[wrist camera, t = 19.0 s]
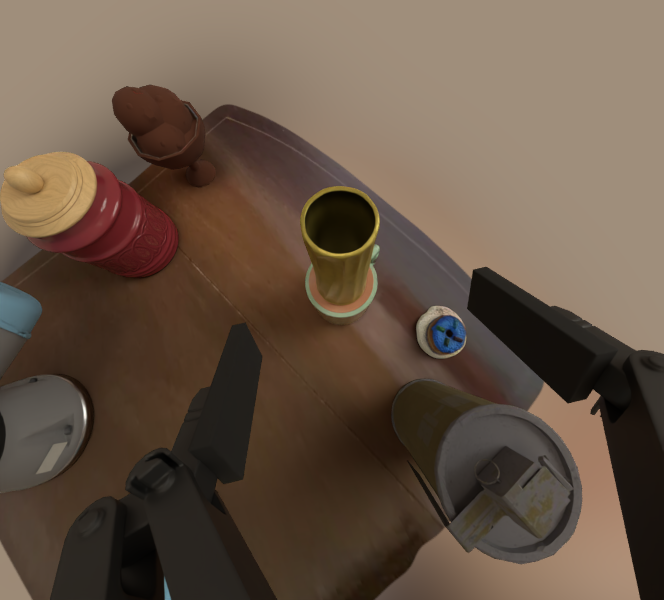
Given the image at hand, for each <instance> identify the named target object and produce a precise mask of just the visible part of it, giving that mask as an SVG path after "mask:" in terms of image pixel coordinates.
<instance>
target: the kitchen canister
mask: <svg viewBox="0 0 664 600" xmlns="http://www.w3.org/2000/svg"><path fill="white" fill-rule="evenodd" d="M4 178H5V180H4V182H3V185H2V188H1V192H0V201H1V208H2V214H3V217H4V220H5V221H6V223H7V224H8V226H9V227H10V228H11V229H13V230H14V231H15V232H17V233H19V234H21V235H24V236H26V237H27V239H28V240H29V241H30V242H31V243H33V244H34V245H35V246H37V247H38V248H40V249H42V250H45V251H49V252H55V253H62V254H64V255H65V256H67V257H68V258H70V259H73V260H76V261H80V262H85V263H88V264H91V265H94V266H97V267H100V268H103V269H106V270H108V271H109V272H111V273H114V274H117V275H120V276H124V277H133V278H142V277H147V276H150V275H153V274H155V273H157V272H158V271H160V270H161V269H163V268H164V267H165V266H166V265H167V264H168V263H169V262H170V261H171V259H172V258H173V256H174V254H175V252H176V249H177V246H178V231H177V228H176V226H175V224H174V223H173V221H172V220H171V219H170V218H169V216H168V215H167V214H166V213H165V212H163V211H162V210H161V209H159V208H158V207H156V206H154V205H152V204H151V203H150V202H148V201H147V200H146V199H145V198H143V197H142V196H141V195H139V194H138V193H137V192H136V191H135V190H134V189H133V188H132V187H131V186H129V185H128V184H126V183H125V182H123V181H120V180H117V178H116V177H115V175H114V174H113V173H112V172H111V171H110V170H109V169H108V168H106V167H105V166H103V165H101V164H98V163H95V162H91V161H86V160H85V159H83V158H82V157H80V156H78V155H75V154H72V153H68V152H53V153H49V154H45V155H39V156H34V157H31V158H29V159H27V160H25V161H23V162H21V163H20V164H19V165H17V166H11V167H9V168H7V169H6V170H5V172H4Z"/></svg>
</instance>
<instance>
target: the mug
mask: <svg viewBox="0 0 664 600" xmlns="http://www.w3.org/2000/svg"><path fill="white" fill-rule="evenodd" d="M379 251H380V247H379V246H378V245H374V249H373V253H372V257H371V262H370V266H369V270H368V274H367V279H366V287H365V290H364V292H363V294H362V295H361V297H360V298H359V299H358V300H356V301H355V302H353V303H351V304H348V305H335V304H332V303H329V302H327V301H326V300H325V299H323V297H322V296H321V295H320V293H319V292H318V290H317V285H316V276H315V272H314V268H313V265H312V263H311V265H310V267H309V269H308V271H307V274H306V279H305V287H306V292H307V295H308V297H309V299H310V301H311V303H312V304H313V306H314V307H315V309H316V310H317V312H318V313H319V314H320V316H321V317H322V318H324V319H325V320H326V321H328V322H330V323H333V324H337V325H346V324H350V323H353V322H355V321H357V320H358V319H360V318H361V317H362V316H363V314H364V313H365V312H366V310H367V308H368V307H369V305H370V303H371V302H372V300H373V298H374V296H375V294H376V290H377V275H376V272H375V269H374V267H373V265H374V264H375V262H376V259H377V256H378V254H379Z"/></svg>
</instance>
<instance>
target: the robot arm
mask: <svg viewBox="0 0 664 600" xmlns="http://www.w3.org/2000/svg"><path fill="white" fill-rule="evenodd" d="M467 309H468V310H469V311H470V312H471V313H472V314H473V315H474V316H475V317H476V318H478V319H479V320H480V321H481V322H482V323H483V324H484V325H485V326H486V327H487V328H488V329H489V330H490V331H491V332H492V333H493V334H495V335H496V336H497V337H498V338H499V339H500V340H501V341H502V342H503V343H504V344H505V345H506V346H507V347H508V348H509V349H510V350H511V351H513V352H514V353H515V354H516V355H517V356H518V357H519V358H520V359H521V360H522V361H523V362H524V363H525V364H526V365H527V366H528V367H530V368H531V369H532V370H533V371H534V372H535V373H536V374H537V375H538V376H539V377H540V378H541V379H542V380H543V381H544V382H545V383H547V384H548V385H549V386H550V387H551V388H552V389H553V390H554V391H555V392H556V393H557V394H558V395H559V396H560V397H562V399H564V400H565V401H566V402H567V403H572V402H575V401H580V400H584V399H587V397H588V396H589V394H590V393H591V391H592V390H593V389H594V390H595V391H596V392H597V393H599V394H600V395H601V396H600V398H599V399H598V400H597V402H596V403H595V405H594V406H593V407H592V409H591V414H592V415H595V414H596V412H597V411H598V410H599V409H600V412H601V416H600V417H602V421H603V426H604V431H605V435H606V440H607V445H608V449H609V454H610V459H611V464H612V468H613V473H614V478H615V482H616V487H617V492H618V496H619V501H620V506H621V510H622V515H623V520H624V525H625V529H626V534H627V538H628V543H629V548H630V552H631V557H632V562H633V567H634V571H635V576H636V580H637V585H638V590H639V595H640V599H641V600H664V354H662V353H658V352H654V351H647V350H639V351H636V350H634V349H632V348H630V347H629V346H627V345H625V344H624V343H622V342H620V341H619V340H617V339H615V338H614V337H612V336H610V335H609V334H607V333H605V332H604V331H602V330H600V329H599V328H597V327H595V326H592V324H590V323H589V322H587V321H585V320H582V318H580V317H579V316H577V315H575V314H574V313H572V312H570V311H568V310H565V309H562V308H560V307H557V306H551V307H550V306H548V305H547V304H545V303H543V302H542V301H540V300H539V299H537V298H535V297H534V296H532V295H531V294H529V293H527V292H526V291H524V290H523V289H521V288H519V287H518V286H516V285H514V284H513V283H512V282H510V281H508V280H507V279H505V278H503V277H502V276H500V275H499V274H497V273H496V272H494V271H492V270H491V269H489V268H488V267H483V268H479V269H475V270H473V274H472V281H471V287H470V294H469V301H468V307H467ZM41 313H42V307H41V304H40V303H39V301H37V300H36V299H35V298H34V297H32V296H31V295H29V294H27V293H25V292H23V291H21V290H19V289H16V288H14V287H12V286H9V285H7V284H4V283H2V282H0V379H1V377H2V376H3V375H4V373H5V372H6V370H7V369H8V367H9V366H10V364H11V363H12V361H13V360H14V358H15V357H16V355H17V354H18V353H19V351H20V350H21V348H22V347H23V345H24V344H25V342H26V341H27V339H30V338H31V331H32V329H33V328H34V326H35V324H36V322H37V321H38V319H39V317H40V316H41ZM261 362H262V355H261V353H260V351H259V349H258V347H257V345H256V343H255V341H254V339H253V337H252V335H251V333H250V331H249V329H248V327H247V325H246V323H241V324H237V325H233V326H232V327H231V330H230V333H229V336H228V339H227V341H226V344H225V347H224V350H223V353H222V355H221V358H220V361H219V364H218V367H217V370H216V372H215V375H214V378H213V381H212V384H211V386H210V387H206V388H202V389H200V390H199V392H198V393H197V394H196V396H195V397H194V398H193V399H192V402H191V404H190V407H189V409H188V413H187V414H186V416H185V419H184V423H183V424H182V426H181V429H180V431H179V433H178V436H177V438H176V441H175V443H174V446H173V448H172V451H169V450H168V449H167V448H159V449H156V450H153V451H151V452H150V453H148V454H147V455H145V456H144V457H143V458H142V459H141V460H140V461H139V462H138V463H136V465H135V466H134V468H133V469H132V470H131V472H130V473H129V476H128V478H127V480H126V489H125V490H126V491H128V492H130V493H131V494H129V495H127V496H125V497H124V498H122V499H120V500H117V499H115V498H113V497H111V496H109V497H103V498H101V499H99V500H97V501H95V502H94V503H92V504H91V505H90V506H88V507H87V508H86V509H85V510H84V511H83V512H82V513H81V514H80V515H79V516H78V517H77V519H76V520H75V522H74V523H73V525H72V526H71V527H70V529H69V531H68V534H67V536H66V538H65V541H64V545H63V549H62V553H61V557H60V561H59V565H58V569H57V573H56V577H55V581H54V585H53V589H52V593H51V597H50V600H165V588H164V577H165V580H166V584H167V587H168V590H169V594H170V597H171V600H277V598H276V597H275V595H274V593H273V591H272V589H271V588H270V586H269V584H268V582H267V580H266V579H265V577H264V575H263V573H262V571H261V570H260V568H259V566H258V564H257V562H256V560H255V559H254V557H253V555H252V553H251V551H250V550H249V548H248V546H247V544H246V542H245V541H244V539H243V537H242V535H241V533H240V532H239V530H238V528H237V526H236V524H235V523H234V521H233V519H232V517H231V515H230V514H229V512H228V510H227V508H226V506H225V505H224V503H223V501H222V499H221V497H220V496H219V494H218V492H217V491H216V490H215V486H216V482H217V478H218V479H219V480H220V481H221V482H222V483H223V484H226V483H231V482H235V481H239V480H243V476H244V470H245V463H246V457H247V451H248V444H249V438H250V432H251V425H252V419H253V413H254V406H255V400H256V394H257V387H258V381H259V375H260V368H261ZM93 420H94V412H93V405H92V401H91V398H90V396H89V394H88V392H87V390H86V389H85V387H84V386H83V385H82V384H81V383H80V382H79V381H77V380H76V379H74V378H72V377H70V376H67V375H62V374H48V375H38V376H34V377H29V378H25V379H22V380H19V381H16V382H13V383H10V384H7V385H4V386H1V387H0V493H4V492H10V491H17V490H23V489H27V488H31V487H34V486H37V485H40V484H42V483H44V482H47V481H49V480H51V479H53V478H55V477H57V476H59V475H61V474H62V473H64V472H65V471H66V470H68V469H69V468H70V467H71V466H72V465H73V464H74V463H75V462H76V461H77V459H78V458H79V457H80V455H81V454H82V452H83V451H84V449H85V447H86V445H87V443H88V441H89V438H90V435H91V432H92V427H93Z"/></svg>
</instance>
